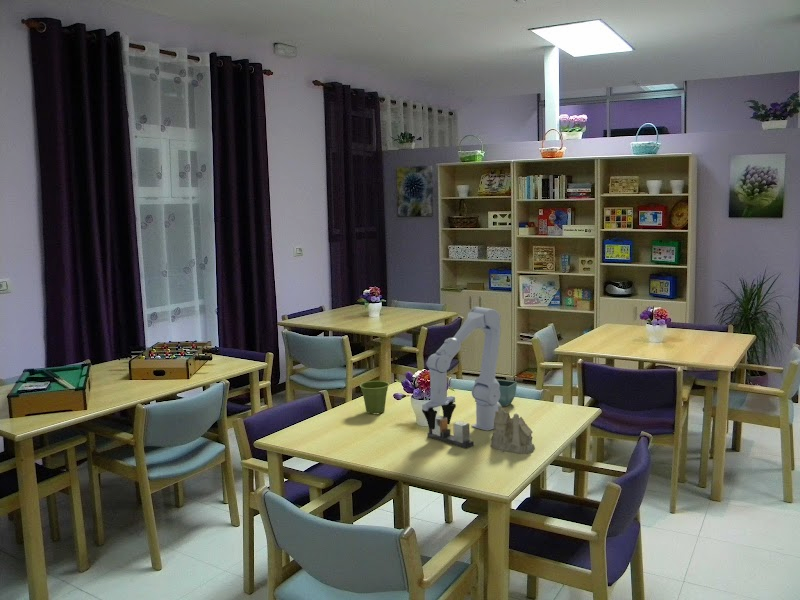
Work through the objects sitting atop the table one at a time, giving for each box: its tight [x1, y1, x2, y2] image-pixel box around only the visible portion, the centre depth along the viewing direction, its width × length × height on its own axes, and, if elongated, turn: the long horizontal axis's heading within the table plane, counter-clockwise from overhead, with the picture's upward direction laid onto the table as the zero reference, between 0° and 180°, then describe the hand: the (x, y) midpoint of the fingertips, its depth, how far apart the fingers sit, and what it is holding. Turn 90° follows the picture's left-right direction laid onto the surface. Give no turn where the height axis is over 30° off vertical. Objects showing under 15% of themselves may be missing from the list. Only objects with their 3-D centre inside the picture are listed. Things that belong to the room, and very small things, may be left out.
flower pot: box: [496, 379, 518, 407], centre depth 291 cm, size 9×9×9 cm
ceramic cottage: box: [490, 405, 536, 455], centre depth 242 cm, size 16×16×15 cm
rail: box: [427, 420, 474, 449], centre depth 247 cm, size 18×4×8 cm, turn 43°
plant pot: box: [359, 380, 390, 414], centre depth 285 cm, size 12×12×11 cm
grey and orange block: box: [432, 414, 449, 436], centre depth 251 cm, size 4×4×6 cm
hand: (439, 426), depth 251 cm, fingers open, 7 cm apart
